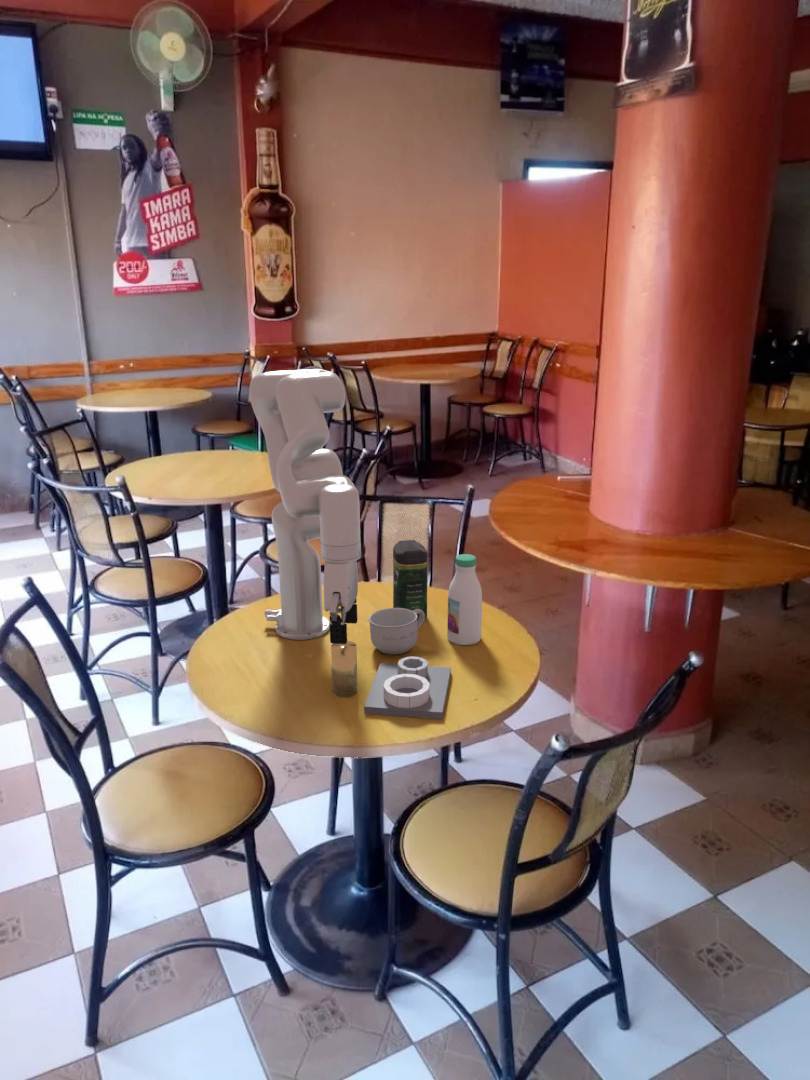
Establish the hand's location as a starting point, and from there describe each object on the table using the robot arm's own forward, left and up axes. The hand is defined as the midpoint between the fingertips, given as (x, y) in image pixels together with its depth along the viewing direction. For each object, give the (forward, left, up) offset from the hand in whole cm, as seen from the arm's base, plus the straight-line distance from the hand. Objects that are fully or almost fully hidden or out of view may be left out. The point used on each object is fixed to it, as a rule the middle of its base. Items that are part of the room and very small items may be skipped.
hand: (344, 632), depth 160 cm
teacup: (+8, +22, -14) cm, 27 cm away
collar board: (+13, +2, -13) cm, 18 cm away
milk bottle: (+22, +28, -14) cm, 38 cm away
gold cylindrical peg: (0, +1, -13) cm, 13 cm away
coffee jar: (+8, +39, -14) cm, 42 cm away
